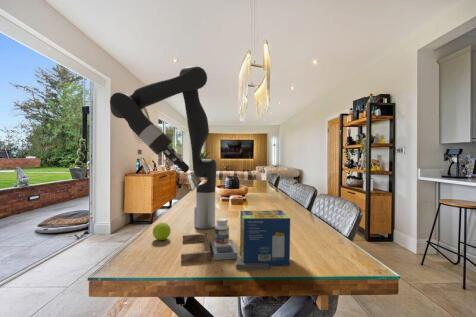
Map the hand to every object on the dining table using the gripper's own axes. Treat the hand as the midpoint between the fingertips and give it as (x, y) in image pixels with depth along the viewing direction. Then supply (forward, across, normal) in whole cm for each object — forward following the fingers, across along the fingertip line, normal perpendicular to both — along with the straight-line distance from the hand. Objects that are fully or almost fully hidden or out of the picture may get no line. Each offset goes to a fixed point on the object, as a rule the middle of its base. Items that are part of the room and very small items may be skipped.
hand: (187, 170), depth 88 cm
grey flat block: (+35, -19, +6) cm, 41 cm away
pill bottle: (+28, -4, +10) cm, 30 cm away
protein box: (+39, -15, +3) cm, 42 cm away
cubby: (+23, -3, +19) cm, 30 cm away
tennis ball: (+14, +10, +28) cm, 33 cm away
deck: (+30, -7, +12) cm, 33 cm away
